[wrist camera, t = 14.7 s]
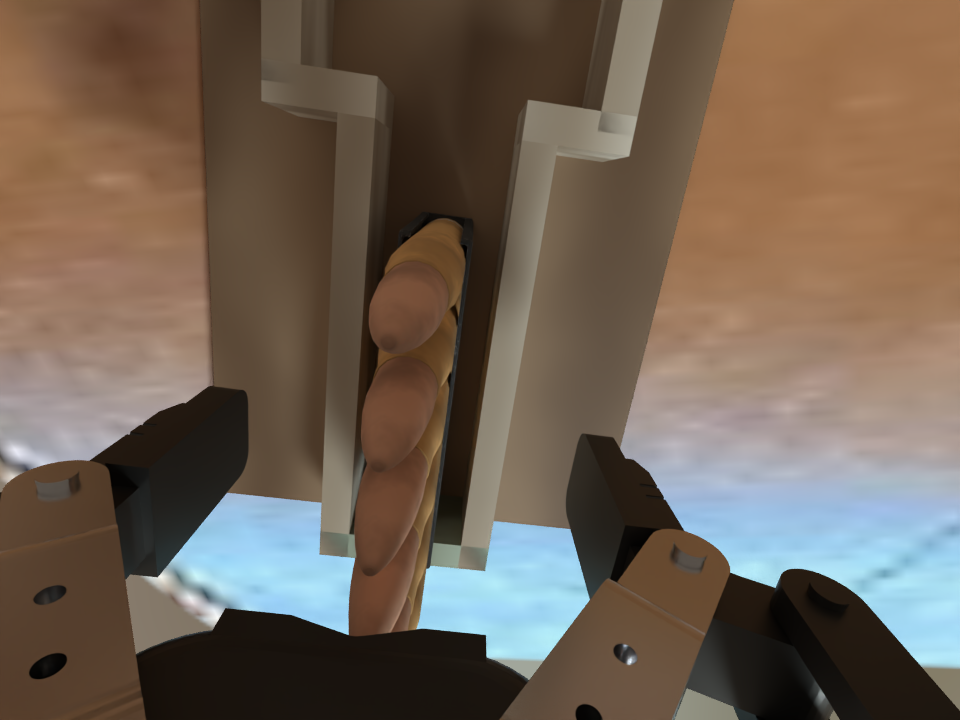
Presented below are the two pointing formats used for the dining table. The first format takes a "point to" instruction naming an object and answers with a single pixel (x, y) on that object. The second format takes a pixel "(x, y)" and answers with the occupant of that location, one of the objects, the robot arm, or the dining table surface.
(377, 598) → the ammunition clip
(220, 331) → the shallow open tray
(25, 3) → the dining table surface
